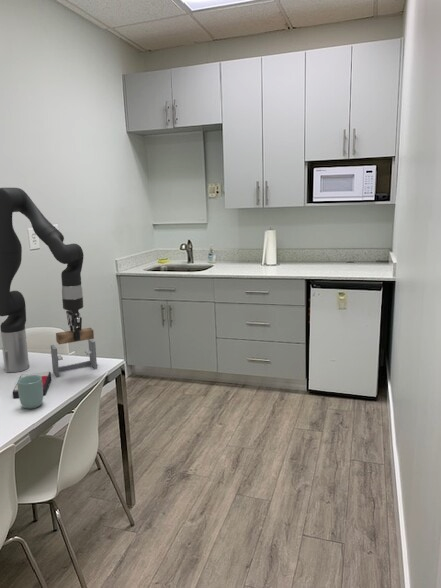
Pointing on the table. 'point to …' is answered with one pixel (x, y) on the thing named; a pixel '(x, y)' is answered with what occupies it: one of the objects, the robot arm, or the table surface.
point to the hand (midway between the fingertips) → (75, 338)
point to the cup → (30, 391)
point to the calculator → (45, 379)
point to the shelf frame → (92, 362)
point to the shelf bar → (69, 336)
